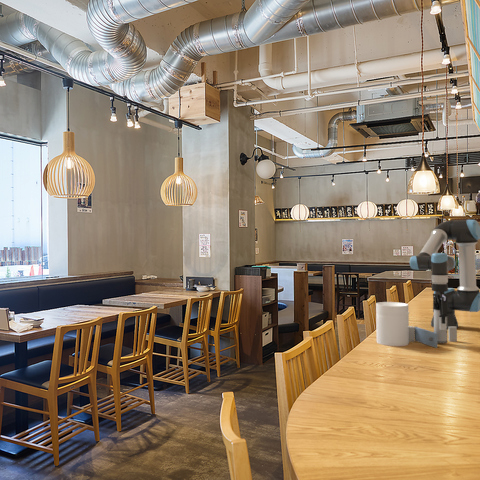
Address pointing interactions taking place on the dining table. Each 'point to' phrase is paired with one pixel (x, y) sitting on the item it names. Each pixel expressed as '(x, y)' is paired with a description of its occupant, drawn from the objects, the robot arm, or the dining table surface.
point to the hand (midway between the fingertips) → (440, 328)
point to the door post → (411, 334)
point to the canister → (392, 323)
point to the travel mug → (440, 333)
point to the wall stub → (452, 334)
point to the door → (425, 336)
